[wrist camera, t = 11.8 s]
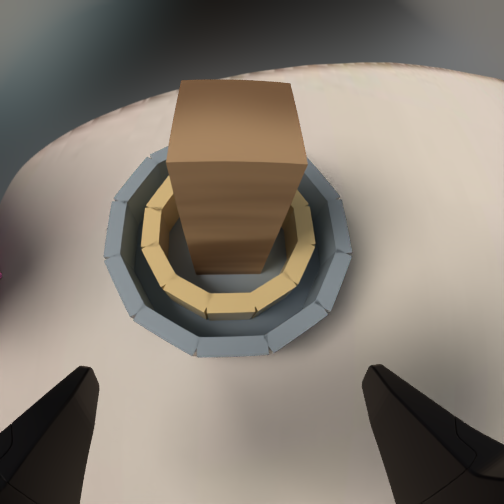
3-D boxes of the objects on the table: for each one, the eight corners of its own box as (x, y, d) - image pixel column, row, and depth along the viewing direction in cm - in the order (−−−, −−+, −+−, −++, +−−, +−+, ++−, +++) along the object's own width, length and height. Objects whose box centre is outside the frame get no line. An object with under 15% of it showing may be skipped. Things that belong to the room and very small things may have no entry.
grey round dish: (190, 397, 16) (183, 407, 12) (98, 218, 19) (79, 193, 16) (365, 280, 19) (390, 264, 16) (256, 140, 23) (261, 109, 19)
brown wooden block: (260, 274, 18) (307, 164, 8) (195, 274, 18) (165, 162, 8) (257, 216, 20) (290, 83, 9) (197, 217, 19) (181, 80, 9)
